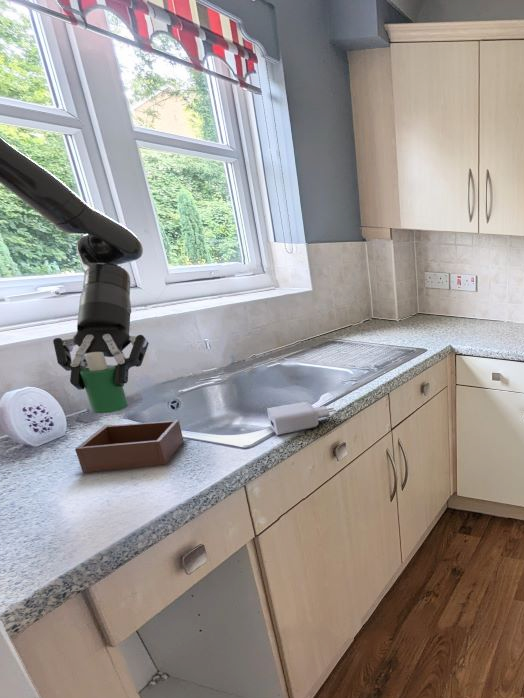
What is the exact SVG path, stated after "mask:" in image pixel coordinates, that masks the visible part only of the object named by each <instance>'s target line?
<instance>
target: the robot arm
mask: <svg viewBox="0 0 524 698" xmlns="http://www.w3.org/2000/svg"><path fill="white" fill-rule="evenodd" d="M0 184H1V185H2V186H4V187H5V188H6V189H7V190H9V191H10V192H11V193H12V194H14V195H15V196H16V197H18V198H19V199H20V200H21V201H23V203H25V204H26V205H27V206H29V207H30V208H32V209H33V210H34V211H35V212H36V213H37V214H39V215H40V216H42V218H43V219H45V220H46V221H47V222H49V223H50V224H51V225H53V226H54V227H56V228H57V229H58V230H60V231H62V232H64V233H65V234H66V233H67V234H72V235H73V234H75V235H76V234H83V235H81V236H80V237H79V239H78V240H77V241H76V245H75V249H76V253H77V256H78V259H79V262H80V265H81V268H82V271H83V274H84V276H83V284H82V291H81V294H80V297H79V305H78V315H77V321H76V322H77V323H76V333H75V334H74V336H73V337H72V338H69V339H68V338H67V339H63V338H60V337H55V338H54V339H53V340H52V343H53V347H54V352H55V356H56V362H57V364H58V365H59V366H60V367H62V368H63V369H64V371H66V372H70V378H69V383H70V384H71V385H72V386H73V387H75V388H76V389H77V390H78V391H79V390H80V391H81V390H85V386H84V383H83V380H82V377H81V374H80V370H82V369H85V368H88V365H87V362H86V358H85V354H86V353H91V352H103V354H104V357H105V358H106V357H107V358H114V359H115V362H116V363H117V364H115V365H114V366H115V377H114V382H115V384H116V385H117V386H118V387H122V386H123V387H124V386H125V384H127V383H128V381H129V370H130V369H131V368H133V367H136V368H137V367H141V366H142V365H143V362H144V358H145V356H146V352H147V350H148V347H149V344H150V343H149V341H148V340H147V338H146V337H145V336H144V335H143V334H138V335H136V336H132V335H130V331H131V330H130V329H131V314H132V307H131V306H132V305H131V276H130V273H129V272H128V271H127V270H126V269H125V268H124V267H122V266H121V265H123V264H126V263H130V262H134V261H137V260H139V259H141V257H142V255H143V253H144V248H143V245H142V243H141V240H140V239H139V238H138V237H137V236H136V234H135V233H134V232H133V231H131V230H130V229H128V228H127V227H125V226H124V225H122V224H121V223H119V222H118V221H116V220H114V219H113V218H110V217H109V216H107V215H106V214H105V213H102V212H100V211H99V210H97V209H94V208H93V207H91V206H90V205H89V204H88V203H86V201H84V200H83V199H82V198H81V197H80V196H79V195H78V194H77V193H76V192H74V191H73V190H72V189H71V188H70V187H68V186H67V185H66V184H65V183H63V181H62V180H60V179H59V178H57V177H56V176H55V175H54V174H52V173H51V172H49V171H48V170H47V169H45V168H44V167H42V166H41V165H39V164H38V163H37V162H35V161H33V160H32V159H31V158H29V157H27V156H26V155H25V154H23V153H22V152H20V151H19V150H18V149H16V148H15V147H13V146H12V145H11V144H9V143H8V142H6V141H5V140H4V139H3V138H1V137H0ZM130 344H131V345H132V348H131V351H130V353H129V356H128V357H126V355H125V354H124V352H123V351H124V350H125V349H126V348H128V346H129V345H130ZM75 346H77V347H78V348H77V350H76V351H75V356H74V357H73V359H72V356H71V355H72V354H71V352H73V351H74V350H73V349H74V347H75Z"/></svg>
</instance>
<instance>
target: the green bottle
mask: <svg viewBox="0 0 524 698" xmlns="http://www.w3.org/2000/svg"><path fill="white" fill-rule="evenodd" d="M85 358H86V362H87V365H88V367H87V368H85V369H82V370H80V374H81V377H82V380H83V383H84V386H85V388H84V390H85V392H86V395H87V398H88V401H89V404H90V408H91V410H92V411H91V412H92V413H95V414H108V413H115V412H119V411H122V410H124V409H126V408H128V407H129V404H128V400H127V397H126V393H125V390H124V386H122V387H118V386H117V385H116V384H115V382H114V377H115V365H112V364H107V360H106V357H105V356H104V354H103V352H91V353H86V354H85Z"/></svg>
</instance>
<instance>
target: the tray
mask: <svg viewBox="0 0 524 698" xmlns="http://www.w3.org/2000/svg"><path fill="white" fill-rule="evenodd" d="M184 441H185V440H184V436H183V431H182V428H181V424H180V420H178V419H177V420H176V419H175V420H165V421H164V420H163V421H152V422H138V423H126V424H113V425H112V424H111V425H104V426H102V427H100V428H99V429H98V430H97V431H96V432H95V433H93V434H92V435H91V436H89V437H88V438H87V439H85V441H84V440H83V442H82V443H80V444H79V445H78V446H77V447H76V448H74V450H75V453H76V457H77V459H78V462H79V466H80V469H81V471H82V473H83V474H85V473H94V472H103V471H113V470H114V471H115V470H125V469H132V468H134V469H135V468H141V467H142V468H143V467H151V466H152V467H153V466H160V465H162V466H163V465H166V464H167V463H168V462H169V460H171V458H172V457H173V455H174V454H175V453H176V452H177V451H178V449H179V448H180V446H181V445H182V444H183V443H184Z"/></svg>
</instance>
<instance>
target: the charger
mask: <svg viewBox="0 0 524 698" xmlns="http://www.w3.org/2000/svg"><path fill="white" fill-rule="evenodd" d="M266 411H267V417H268V422H269V426H270V427H271V429H272V430H273V431H274V432H273V433H275V435H276V436H279V435H284V434H289V433H295V432H299V431H304V430H309V429H313V428H316V427H317V426H318V425H319V423H320V422H319V420H320V419H323V418H328V417H330V416H331V413H334V412H336V411H337V410H336V409H334V407H329V408H327V406H325V405H321V406H317V407H314V406H313V405H312V404H311V403H309V402H307V401H302V402H296V403H290V404H285V405H279V406H273V407H267V408H266Z"/></svg>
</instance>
